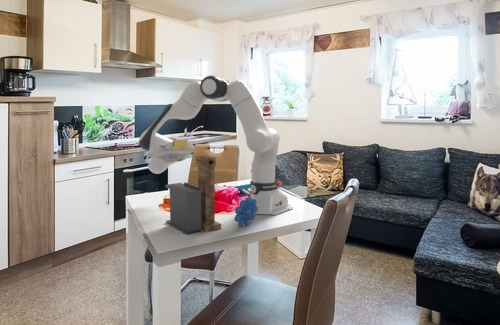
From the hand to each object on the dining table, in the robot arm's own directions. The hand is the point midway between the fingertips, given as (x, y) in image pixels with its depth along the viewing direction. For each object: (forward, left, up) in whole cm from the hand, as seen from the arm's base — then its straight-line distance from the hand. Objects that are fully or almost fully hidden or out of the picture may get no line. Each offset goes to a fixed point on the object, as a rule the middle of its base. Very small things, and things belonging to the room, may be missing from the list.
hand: (178, 142), depth 161 cm
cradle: (+7, +17, -32) cm, 37 cm away
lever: (-49, -15, -33) cm, 61 cm away
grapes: (-14, +30, -33) cm, 46 cm away
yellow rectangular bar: (0, +8, -3) cm, 8 cm away
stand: (0, +22, -32) cm, 39 cm away
